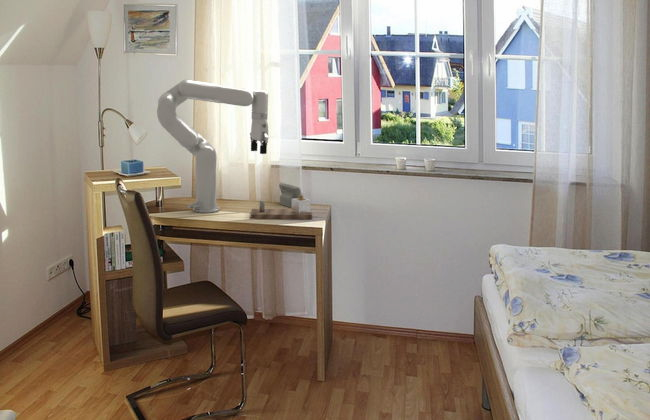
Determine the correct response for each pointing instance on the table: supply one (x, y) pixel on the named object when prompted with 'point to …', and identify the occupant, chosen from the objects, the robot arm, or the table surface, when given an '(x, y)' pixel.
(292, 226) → the table surface
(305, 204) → the white cube
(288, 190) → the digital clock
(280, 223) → the table surface
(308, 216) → the board
